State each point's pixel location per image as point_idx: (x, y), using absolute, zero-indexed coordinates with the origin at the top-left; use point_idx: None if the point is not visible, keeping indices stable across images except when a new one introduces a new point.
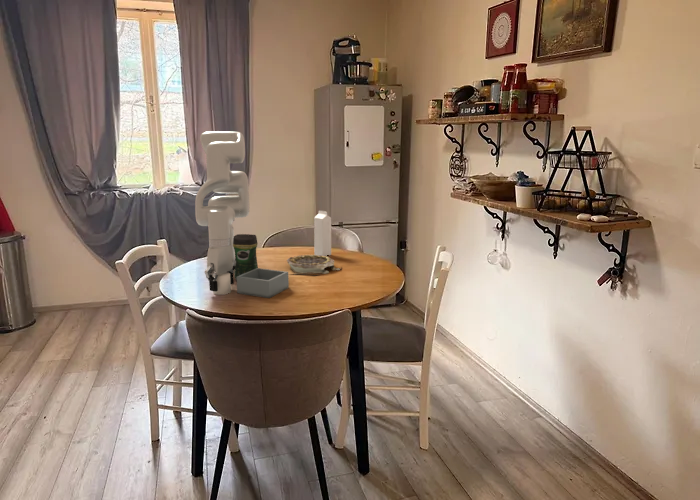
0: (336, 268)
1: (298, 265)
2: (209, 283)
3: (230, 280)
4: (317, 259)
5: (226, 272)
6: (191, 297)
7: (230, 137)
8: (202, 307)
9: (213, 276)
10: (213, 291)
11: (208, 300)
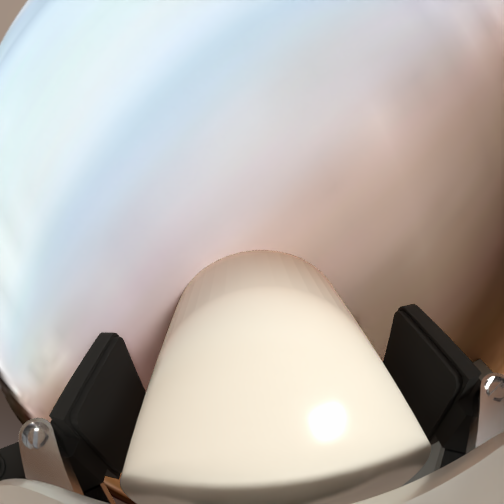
0: None
1: None
2: (68, 385)
3: (401, 383)
4: None
5: (398, 482)
6: (15, 205)
7: None
8: (15, 378)
9: (122, 471)
10: (184, 293)
11: (62, 356)
